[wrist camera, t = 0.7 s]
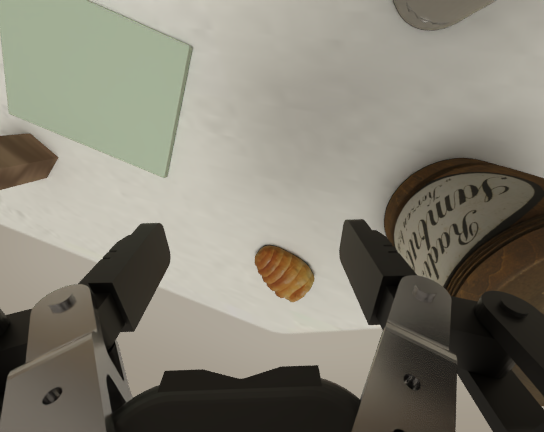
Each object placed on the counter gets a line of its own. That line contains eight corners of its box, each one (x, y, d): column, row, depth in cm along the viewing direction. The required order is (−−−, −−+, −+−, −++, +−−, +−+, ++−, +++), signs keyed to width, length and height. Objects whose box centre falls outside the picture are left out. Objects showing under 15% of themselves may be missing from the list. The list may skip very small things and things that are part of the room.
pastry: (246, 259, 37) (240, 274, 34) (275, 233, 35) (272, 246, 31) (289, 294, 39) (288, 312, 36) (319, 271, 37) (321, 288, 33)
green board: (1, -37, 25) (-8, -42, 25) (192, 47, 26) (189, 45, 26) (15, 113, 32) (8, 113, 31) (167, 176, 33) (164, 178, 32)
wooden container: (416, 142, 27) (711, 227, 8) (541, 176, 27) (1193, 357, 7) (365, 247, 34) (451, 444, 14) (466, 275, 33) (704, 518, 14)
